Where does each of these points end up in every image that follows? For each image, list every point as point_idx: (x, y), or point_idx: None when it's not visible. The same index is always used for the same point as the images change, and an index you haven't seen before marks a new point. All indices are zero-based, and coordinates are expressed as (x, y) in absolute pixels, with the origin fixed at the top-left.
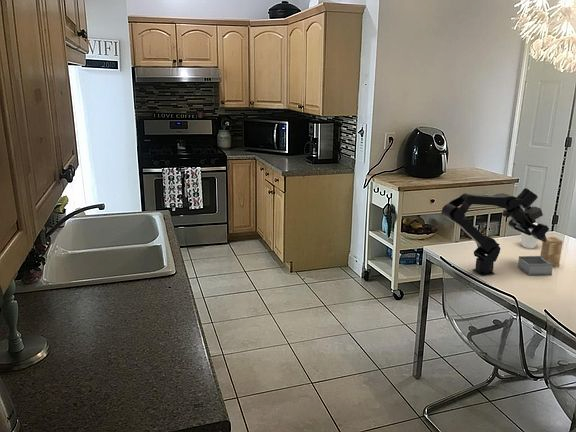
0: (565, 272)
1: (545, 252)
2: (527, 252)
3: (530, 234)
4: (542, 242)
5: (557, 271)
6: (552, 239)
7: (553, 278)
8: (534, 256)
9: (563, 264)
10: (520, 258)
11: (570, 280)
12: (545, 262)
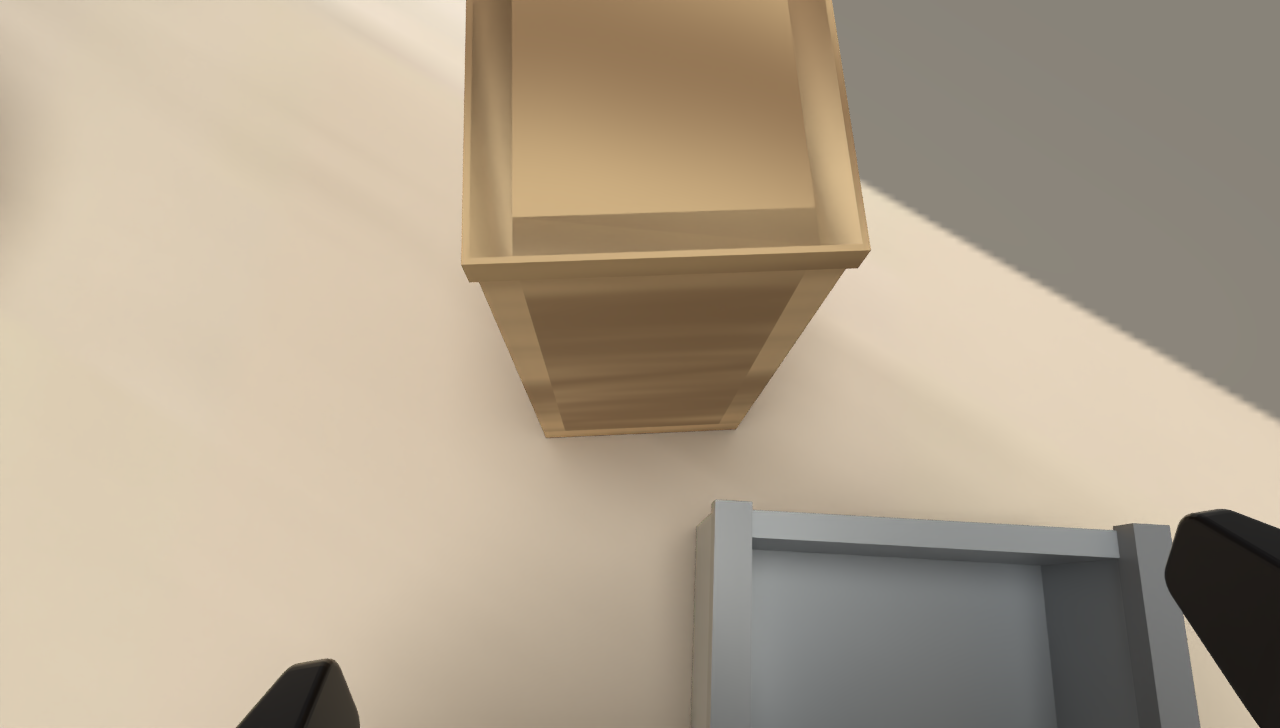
0: (926, 292)
1: (663, 371)
2: (74, 359)
3: (337, 716)
4: (504, 314)
5: (889, 374)
6: (661, 90)
7: None
8: (740, 661)
9: None
10: None
11: (1211, 395)
12: (935, 550)
